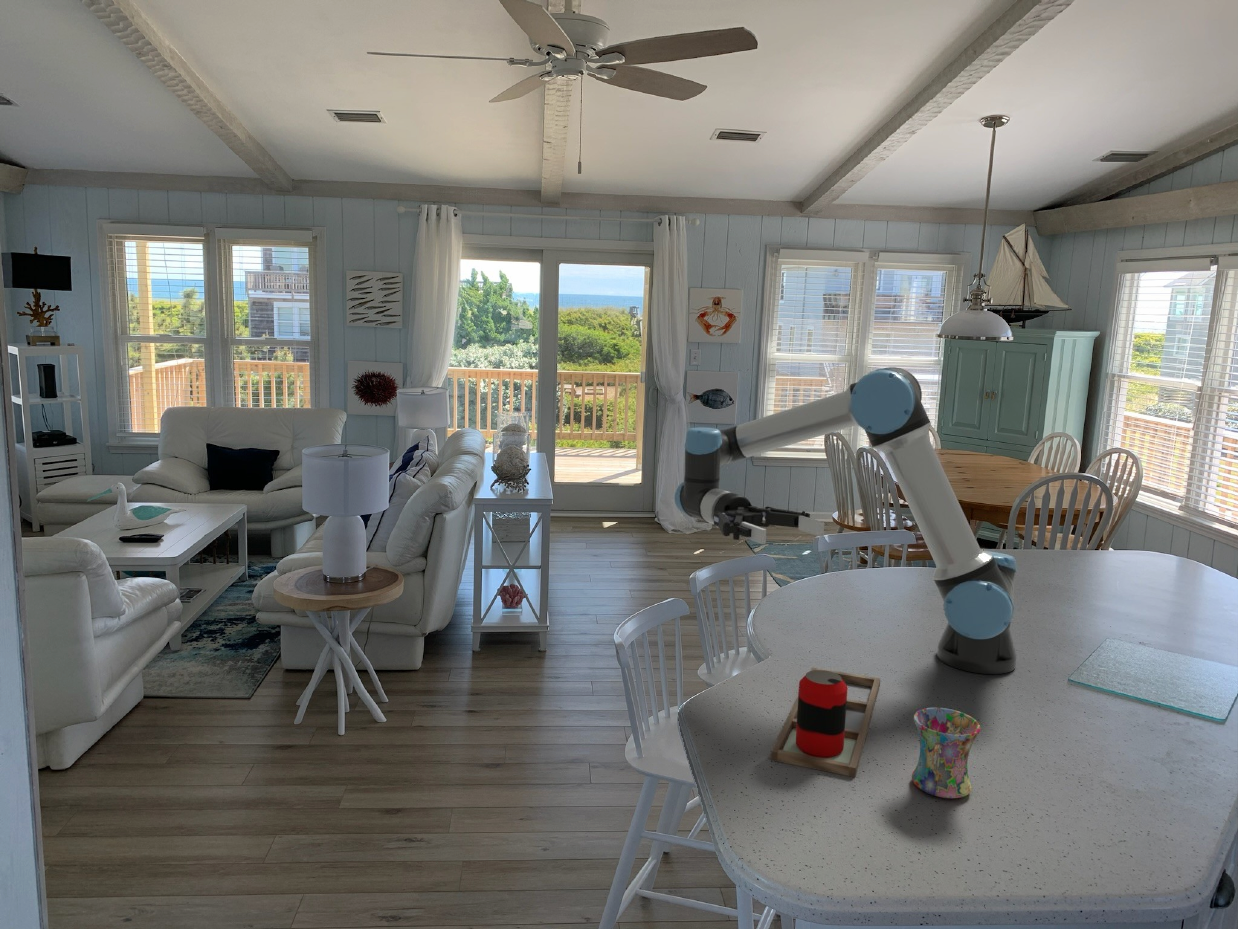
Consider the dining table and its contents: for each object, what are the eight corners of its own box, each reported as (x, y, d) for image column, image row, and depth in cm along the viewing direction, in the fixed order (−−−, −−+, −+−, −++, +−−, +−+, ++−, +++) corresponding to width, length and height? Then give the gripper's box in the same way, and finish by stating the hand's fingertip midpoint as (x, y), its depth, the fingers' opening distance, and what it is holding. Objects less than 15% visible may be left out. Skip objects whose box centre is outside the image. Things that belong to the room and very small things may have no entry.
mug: (916, 765, 138) (921, 702, 136) (979, 782, 133) (985, 717, 131) (897, 800, 128) (902, 732, 126) (964, 820, 123) (971, 749, 121)
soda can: (824, 763, 137) (829, 691, 135) (786, 745, 143) (789, 675, 141) (852, 748, 142) (857, 678, 140) (814, 731, 148) (818, 664, 146)
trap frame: (879, 686, 168) (880, 678, 168) (855, 777, 134) (855, 768, 134) (811, 674, 173) (811, 667, 172) (770, 759, 139) (771, 751, 138)
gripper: (774, 522, 186) (844, 546, 168) (674, 534, 175) (737, 560, 156) (776, 487, 185) (846, 507, 167) (675, 497, 173) (739, 519, 155)
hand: (794, 533), depth 161 cm, fingers open, 13 cm apart
